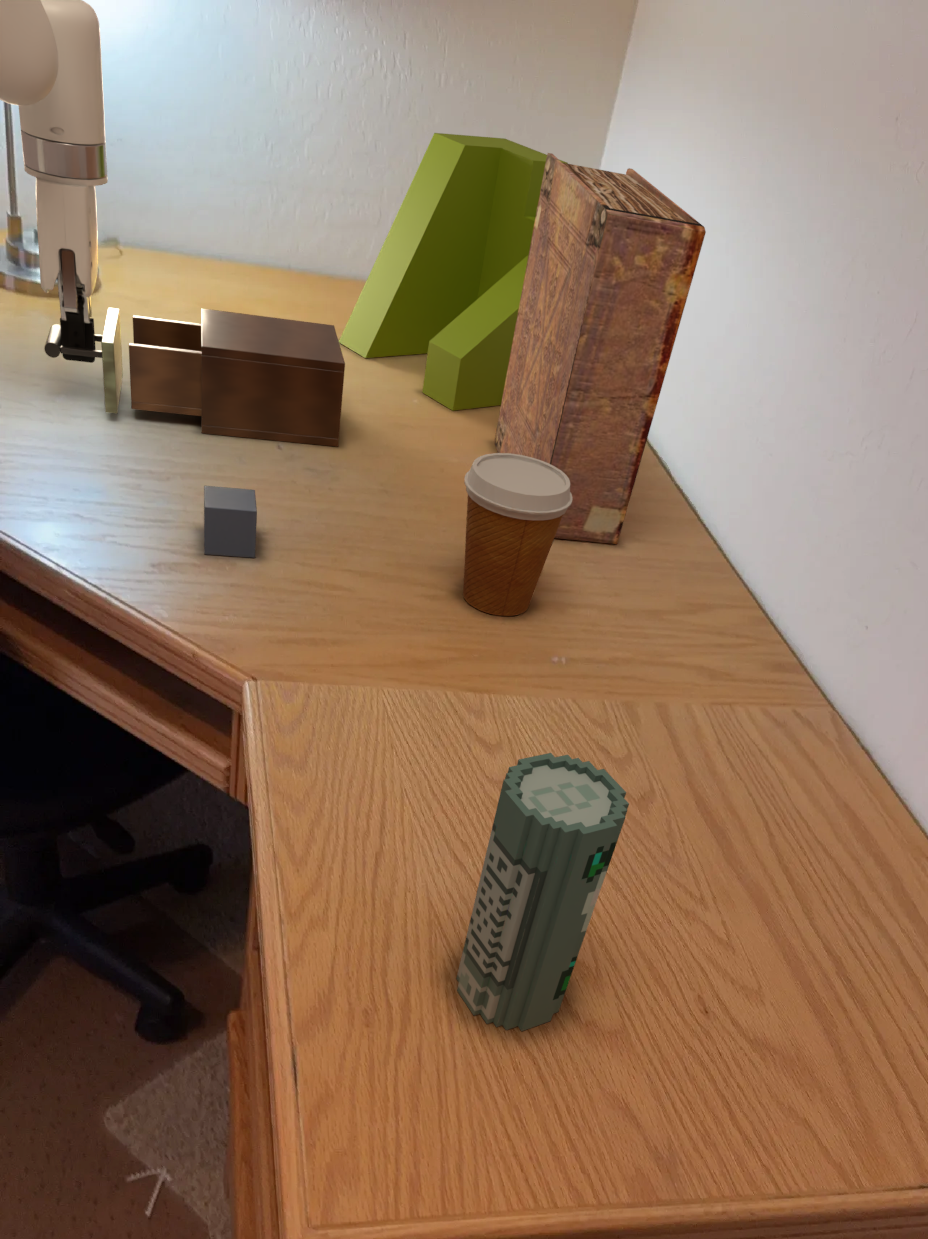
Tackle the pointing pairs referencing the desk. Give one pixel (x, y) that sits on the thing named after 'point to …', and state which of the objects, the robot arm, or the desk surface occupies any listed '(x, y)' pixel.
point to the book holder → (454, 268)
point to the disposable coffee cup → (510, 529)
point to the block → (230, 521)
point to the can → (538, 887)
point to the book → (596, 335)
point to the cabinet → (270, 378)
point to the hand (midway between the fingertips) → (79, 357)
